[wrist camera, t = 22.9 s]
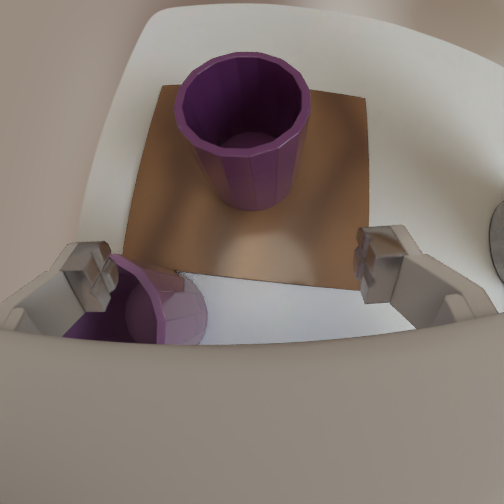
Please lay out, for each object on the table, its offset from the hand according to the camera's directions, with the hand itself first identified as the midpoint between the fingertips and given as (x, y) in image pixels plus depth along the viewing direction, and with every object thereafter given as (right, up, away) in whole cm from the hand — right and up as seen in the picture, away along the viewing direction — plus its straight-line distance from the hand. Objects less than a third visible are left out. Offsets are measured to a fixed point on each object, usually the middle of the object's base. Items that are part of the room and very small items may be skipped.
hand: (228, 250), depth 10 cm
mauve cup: (-6, -5, +14) cm, 17 cm away
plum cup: (+1, +7, +15) cm, 17 cm away
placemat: (+1, +7, +16) cm, 17 cm away
